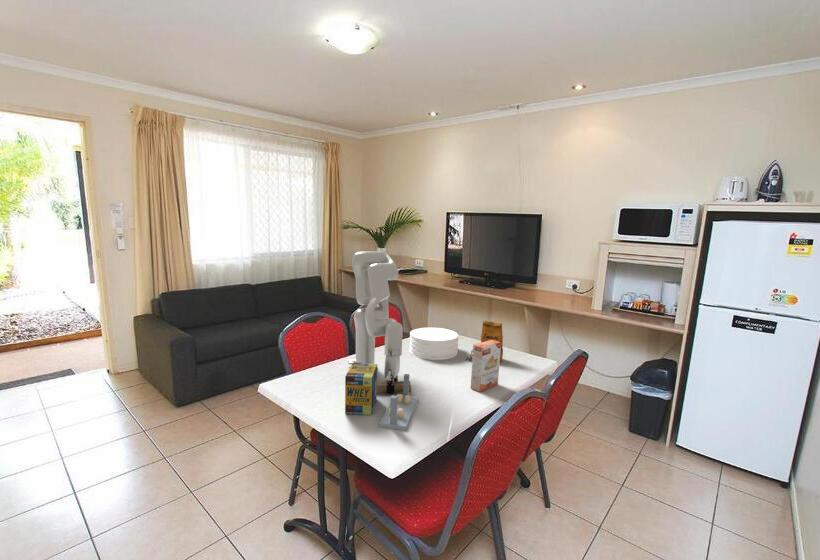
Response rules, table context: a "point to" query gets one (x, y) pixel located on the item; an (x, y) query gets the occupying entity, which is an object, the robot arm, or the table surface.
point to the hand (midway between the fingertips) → (392, 389)
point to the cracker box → (485, 365)
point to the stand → (399, 409)
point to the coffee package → (492, 333)
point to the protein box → (360, 389)
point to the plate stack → (433, 343)
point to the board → (397, 387)
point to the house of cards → (469, 357)
